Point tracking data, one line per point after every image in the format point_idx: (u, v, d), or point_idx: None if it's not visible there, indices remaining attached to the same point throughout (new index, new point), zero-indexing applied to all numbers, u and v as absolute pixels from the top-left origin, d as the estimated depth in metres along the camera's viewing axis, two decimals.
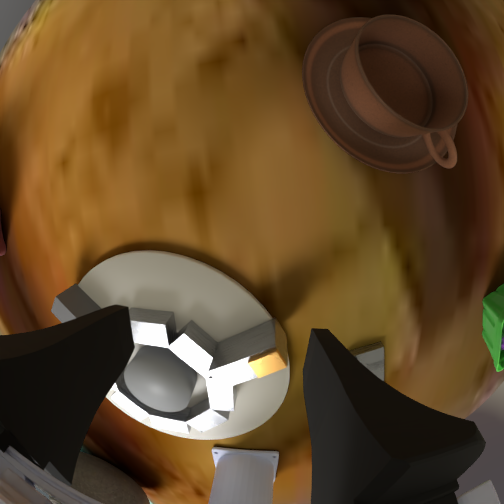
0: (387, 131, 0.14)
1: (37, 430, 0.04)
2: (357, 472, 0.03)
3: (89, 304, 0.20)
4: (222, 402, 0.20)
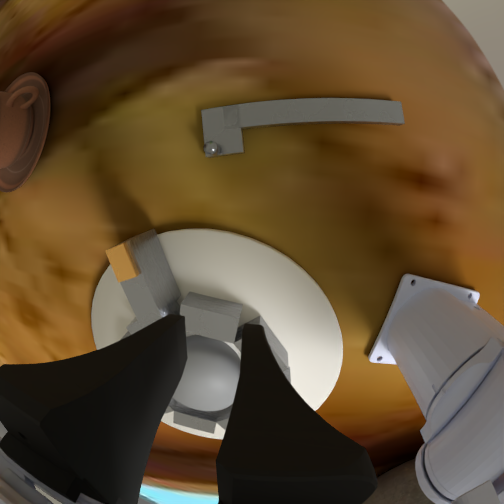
0: (19, 139, 0.15)
1: (106, 467, 0.04)
2: None
3: None
4: (220, 326, 0.17)
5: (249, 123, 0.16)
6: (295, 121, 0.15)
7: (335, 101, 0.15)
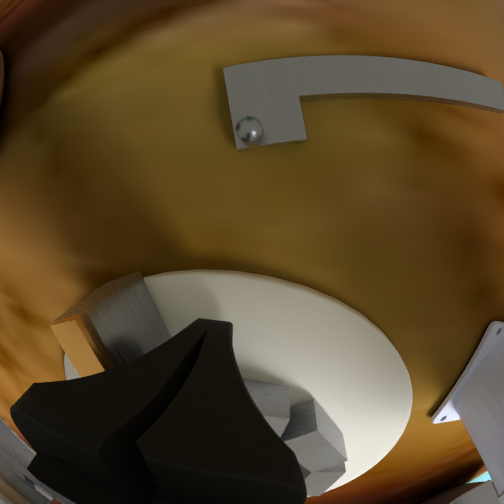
0: None
1: (148, 482, 0.04)
2: None
3: None
4: None
5: (314, 88, 0.08)
6: (387, 91, 0.08)
7: (435, 68, 0.07)
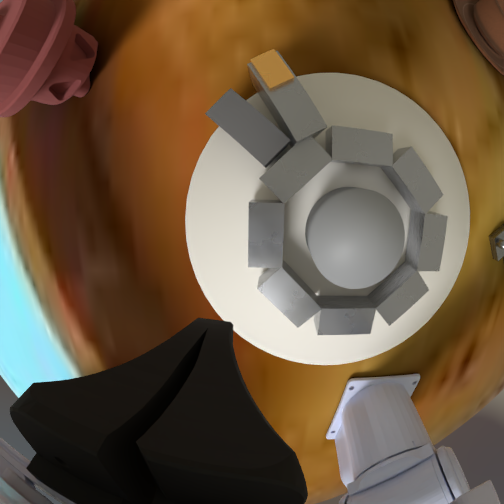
0: None
1: (148, 482, 0.04)
2: None
3: None
4: (376, 145, 0.14)
5: None
6: None
7: None
